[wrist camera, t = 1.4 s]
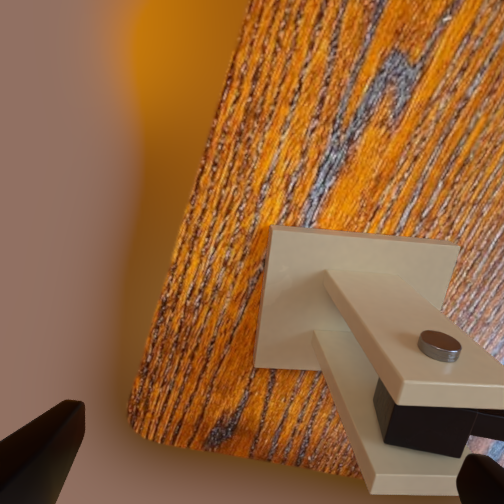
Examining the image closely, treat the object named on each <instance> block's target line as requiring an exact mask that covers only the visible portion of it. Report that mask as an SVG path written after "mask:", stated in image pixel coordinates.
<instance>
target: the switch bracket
mask: <svg viewBox="0 0 504 504" xmlns="http://www.w3.org/2000/svg"><path fill="white" fill-rule="evenodd" d="M459 250H460V246H458V245H456V244H454V243H452V242H450V241H448V240H437V239H426V238H415V237H404V236H392V235H381V234H370V233H359V232H348V231H337V230H326V229H314V228H303V227H292V226H281V225H270V229H269V237H268V245H267V253H266V260H265V268H264V276H263V284H262V292H261V299H260V307H259V315H258V323H257V330H256V338H255V346H254V354H253V359H254V367H255V368H274V369H294V370H314V371H322V372H323V375H324V377H325V380H326V383H327V385H328V388H329V390H330V393H331V395H332V398H333V401H334V403H335V406H336V408H337V411H338V413H339V416H340V419H341V421H342V424H343V426H344V429H345V431H346V434H347V437H348V439H349V442H350V444H351V447H352V449H353V452H354V455H355V457H356V460H357V462H358V465H359V467H360V470H361V473H362V475H363V478H364V480H365V483H366V485H367V488H368V491H369V493H370V494H381V495H443V496H459V494H458V491H457V488H456V478H457V475H458V473H459V471H460V468H461V466H462V464H463V462H464V460H465V457H466V456H467V455H468V454H470V453H472V452H471V451H470V449H469V448H468V447H467V445H466V446H465V448H464V451H463V453H462V456H461V458H459V459H458V458H453V457H448V456H443V455H438V454H433V453H428V452H423V451H418V450H413V449H408V448H403V447H398V446H393V445H388V444H384V442H383V438H382V434H381V431H380V427H379V423H378V419H377V415H376V411H375V407H374V403H373V397H374V393H375V389H376V386H377V382H378V378H379V377H380V379H381V381H382V382H383V384H384V385H385V387H386V389H387V390H388V392H389V394H390V395H391V397H392V399H393V400H394V402H395V403H396V404H397V405H402V406H427V407H451V408H475V409H499V410H504V366H503V365H502V364H501V363H500V362H499V361H498V360H496V359H495V358H494V357H493V356H492V355H491V354H489V353H488V352H487V351H486V350H485V349H484V348H482V347H481V346H480V345H479V344H478V343H477V342H475V341H474V340H473V339H472V338H471V337H470V336H468V335H467V334H466V333H465V332H464V331H463V330H461V329H460V328H459V327H458V326H457V325H456V324H454V323H453V322H452V321H451V320H450V319H449V318H447V317H446V316H445V315H444V314H443V313H442V312H440V311H441V308H442V304H443V301H444V298H445V295H446V292H447V288H448V285H449V282H450V279H451V276H452V272H453V269H454V266H455V263H456V260H457V257H458V253H459Z"/></svg>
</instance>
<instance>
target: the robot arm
mask: <svg viewBox="0 0 504 504" xmlns="http://www.w3.org/2000/svg"><path fill="white" fill-rule="evenodd" d="M84 433H85V405H84V403H83V402H82V401H76V400H64V401H62V402H60V403H59V404H57V405H56V406H55V407H53V408H51V409H50V410H48V411H46V412H45V413H43V414H42V415H40V416H39V417H37V418H36V419H34V420H32V421H31V422H29V423H28V424H26V425H25V426H23V427H22V428H20V429H18V430H17V431H16V432H14V433H12V434H11V435H9V436H8V437H6V438H5V439H3V440H2V441H0V504H55V503H56V501H57V499H58V496H59V494H60V492H61V489H62V487H63V485H64V482H65V480H66V477H67V475H68V473H69V471H70V468H71V466H72V464H73V461H74V459H75V457H76V454H77V452H78V449H79V447H80V445H81V443H82V440H83V437H84ZM456 488H457V491H458V494H459V497H460V500H461V503H462V504H504V468H503V467H502V466H500V465H499V464H498V463H497V462H495V461H494V460H493V459H492V458H490V457H489V456H486V455H481V454H474V453H470V454H468V455H467V456H466V457H465V460H464V462H463V464H462V466H461V468H460V471H459V473H458V475H457V478H456Z"/></svg>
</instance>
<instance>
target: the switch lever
mask: <svg viewBox="0 0 504 504" xmlns="http://www.w3.org/2000/svg"><path fill="white" fill-rule="evenodd" d="M373 403H374V407H375V411H376V415H377V419H378V423H379V427H380V431H381V434H382V438H383V442H384V444H388V445H393V446H398V447H403V448H408V449H413V450H418V451H423V452H428V453H433V454H438V455H443V456H448V457H453V458H458V459H459V458H461V456H462V453H463V451H464V448H465V446H466V443H467V441H468V438H469V436H470V435H473V436H478V437H483V438H489V439H494V440H499V441H504V410H499V409H475V408H451V407H427V406H402V405H397V404H396V403H395V402H394V400H393V399H392V397H391V395H390V394H389V392H388V390H387V389H386V387H385V385H384V384H383V382H382V381H381V379H380V377H379V378H378V382H377V386H376V389H375V393H374V397H373Z"/></svg>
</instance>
